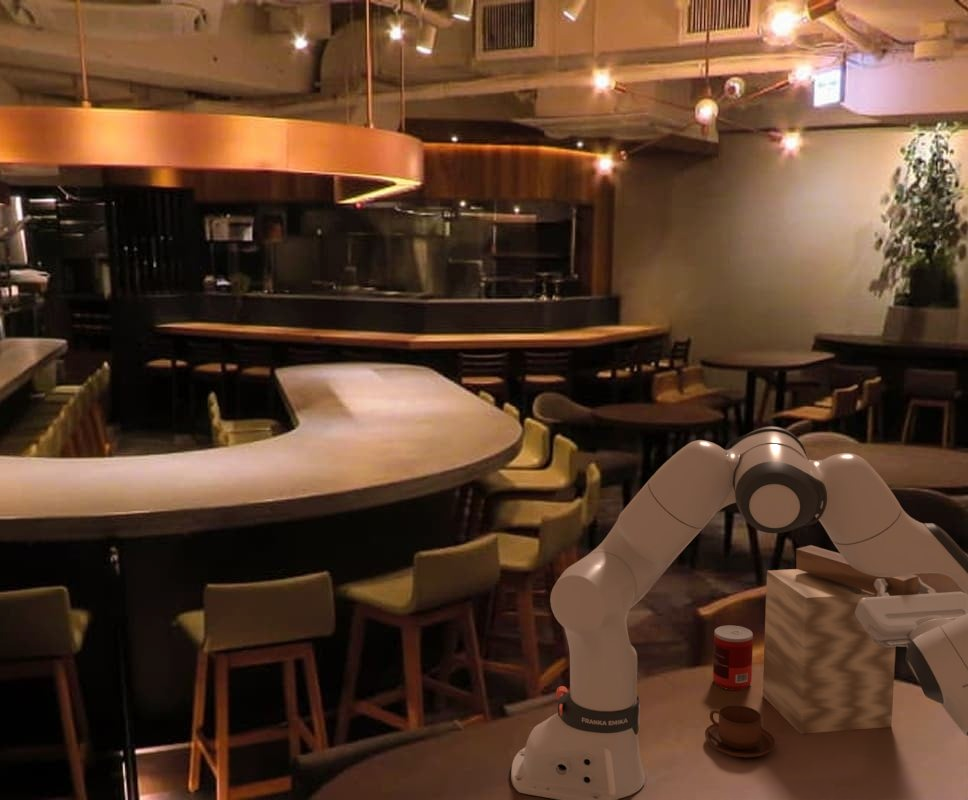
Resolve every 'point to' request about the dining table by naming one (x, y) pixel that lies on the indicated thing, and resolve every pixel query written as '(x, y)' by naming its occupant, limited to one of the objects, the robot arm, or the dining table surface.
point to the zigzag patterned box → (823, 656)
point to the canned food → (732, 657)
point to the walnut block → (850, 572)
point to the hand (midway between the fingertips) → (895, 580)
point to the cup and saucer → (739, 732)
